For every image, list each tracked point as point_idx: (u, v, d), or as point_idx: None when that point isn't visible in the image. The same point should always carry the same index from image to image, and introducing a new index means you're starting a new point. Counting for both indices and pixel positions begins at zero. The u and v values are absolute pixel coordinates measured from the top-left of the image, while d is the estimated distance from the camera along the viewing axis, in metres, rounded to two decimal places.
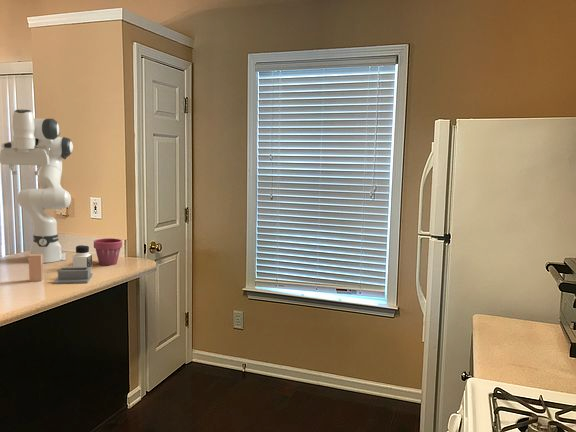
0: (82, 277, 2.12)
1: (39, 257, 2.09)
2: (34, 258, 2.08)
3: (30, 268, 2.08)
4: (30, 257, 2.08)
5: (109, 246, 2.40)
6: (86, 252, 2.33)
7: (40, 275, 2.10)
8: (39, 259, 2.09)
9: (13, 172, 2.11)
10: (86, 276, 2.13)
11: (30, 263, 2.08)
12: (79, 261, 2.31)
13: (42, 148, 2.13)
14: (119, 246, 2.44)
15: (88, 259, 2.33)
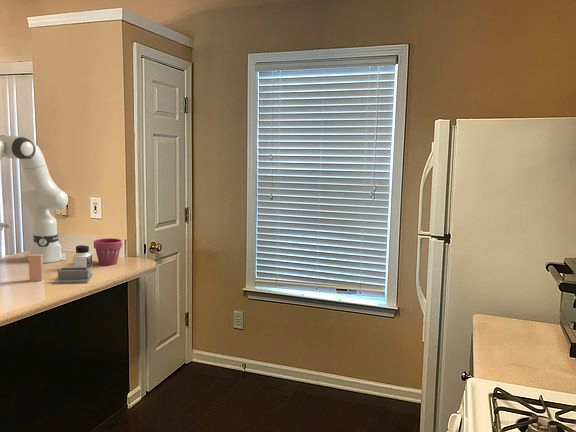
0: (82, 277, 2.12)
1: (39, 257, 2.09)
2: (34, 258, 2.08)
3: (30, 268, 2.08)
4: (30, 257, 2.08)
5: (109, 246, 2.40)
6: (86, 252, 2.33)
7: (40, 275, 2.10)
8: (39, 259, 2.09)
9: (6, 227, 2.09)
10: (86, 276, 2.13)
11: (30, 263, 2.08)
12: (79, 261, 2.31)
13: None
14: (119, 246, 2.44)
15: (88, 259, 2.33)
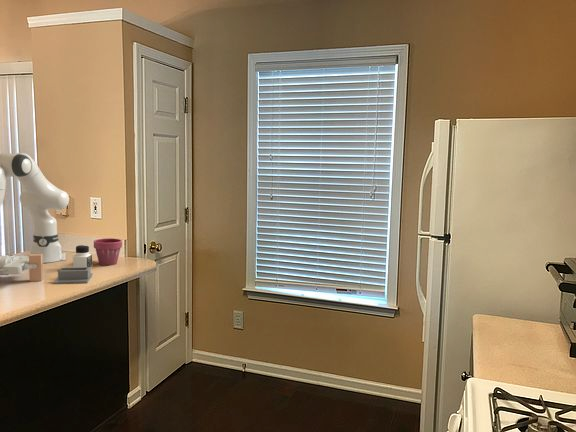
0: (82, 277, 2.12)
1: (39, 257, 2.09)
2: (34, 258, 2.08)
3: None
4: (30, 257, 2.08)
5: (109, 246, 2.40)
6: (86, 252, 2.33)
7: (40, 275, 2.10)
8: (39, 259, 2.09)
9: None
10: (86, 276, 2.13)
11: (30, 263, 2.08)
12: (79, 261, 2.31)
13: None
14: (119, 246, 2.44)
15: (88, 259, 2.33)
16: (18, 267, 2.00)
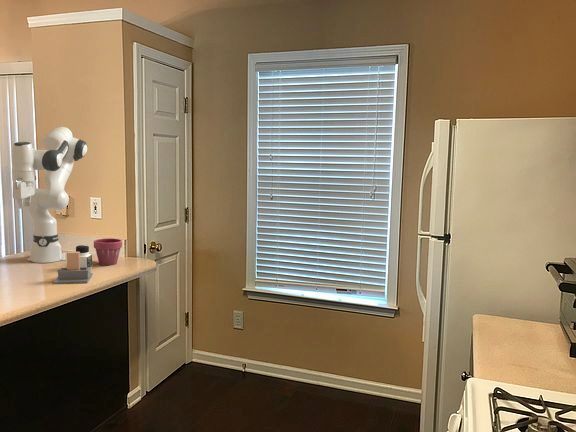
0: (82, 277, 2.12)
1: (77, 254, 2.12)
2: (72, 256, 2.12)
3: (68, 265, 2.12)
4: (68, 254, 2.11)
5: (109, 246, 2.40)
6: (86, 252, 2.33)
7: None
8: (76, 256, 2.12)
9: None
10: (86, 276, 2.13)
11: (68, 260, 2.12)
12: None
13: None
14: (119, 246, 2.44)
15: (88, 259, 2.33)
16: (20, 198, 2.02)
